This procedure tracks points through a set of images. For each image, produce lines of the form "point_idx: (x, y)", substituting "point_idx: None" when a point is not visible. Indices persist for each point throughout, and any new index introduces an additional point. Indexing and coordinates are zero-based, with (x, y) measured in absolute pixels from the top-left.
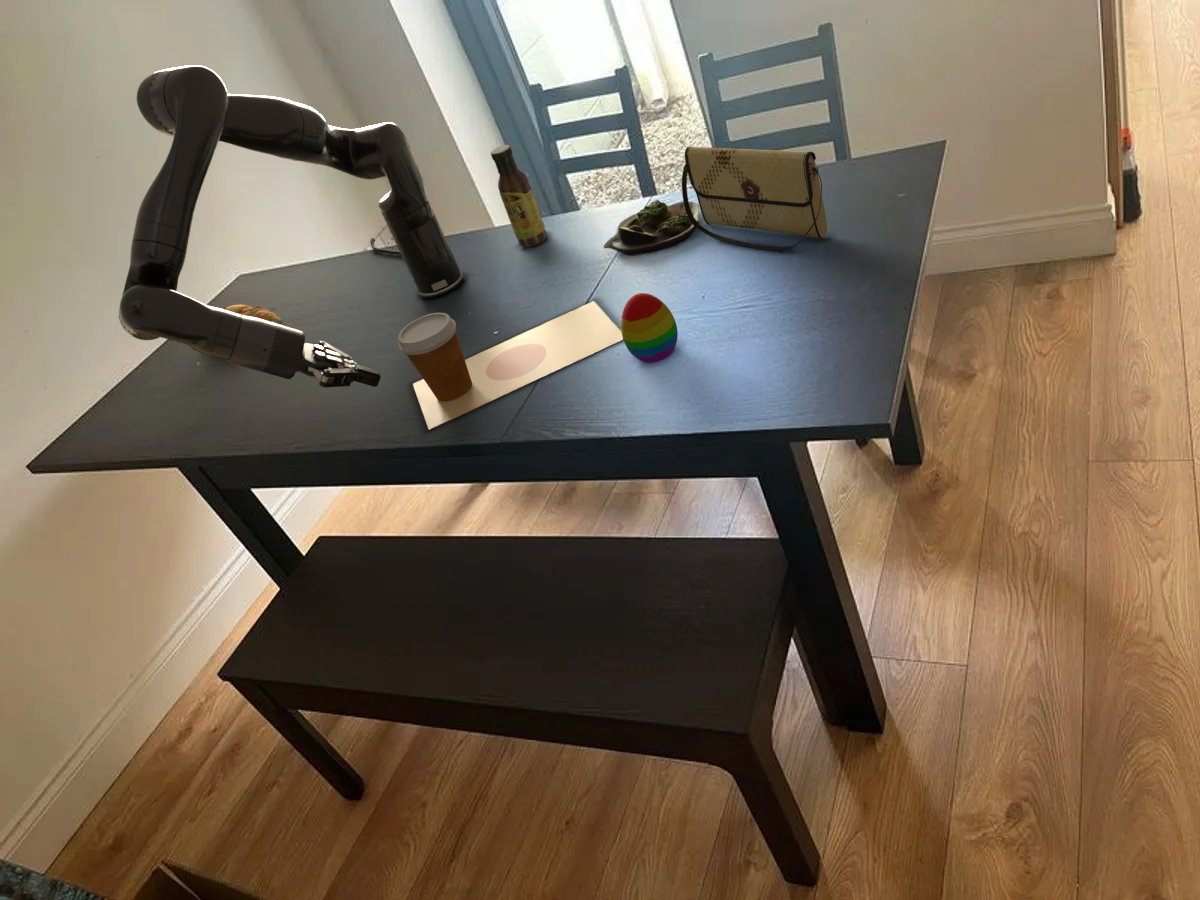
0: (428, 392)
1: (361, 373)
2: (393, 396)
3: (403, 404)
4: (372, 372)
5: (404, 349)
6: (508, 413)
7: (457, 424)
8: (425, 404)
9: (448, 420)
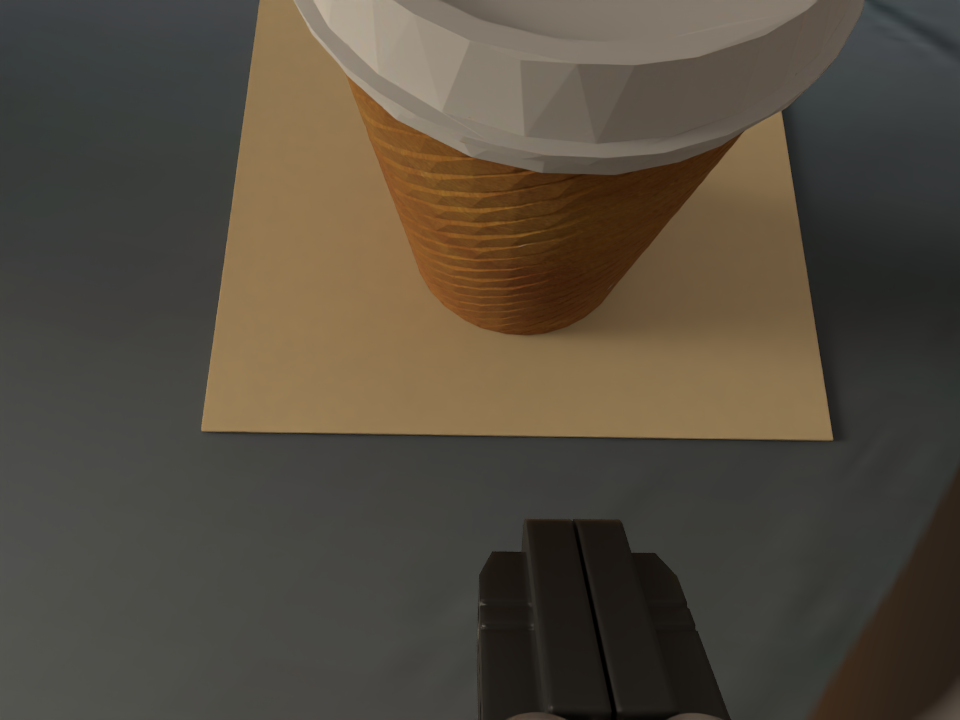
0: (407, 364)
1: (718, 696)
2: (224, 578)
3: (396, 531)
4: (636, 570)
5: (720, 117)
6: (943, 87)
7: (877, 297)
8: (534, 405)
9: (813, 327)
